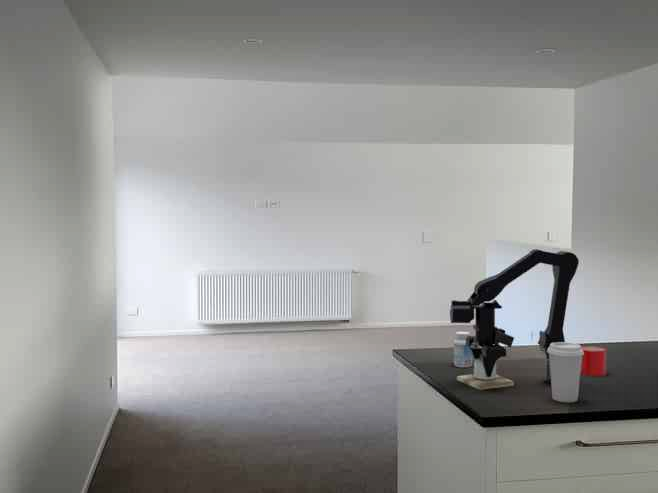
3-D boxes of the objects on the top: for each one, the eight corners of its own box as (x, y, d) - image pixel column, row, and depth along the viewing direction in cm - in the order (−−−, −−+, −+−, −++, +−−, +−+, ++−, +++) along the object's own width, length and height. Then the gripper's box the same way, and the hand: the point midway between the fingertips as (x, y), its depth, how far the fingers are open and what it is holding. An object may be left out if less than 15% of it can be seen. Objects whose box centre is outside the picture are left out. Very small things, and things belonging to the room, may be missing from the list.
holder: (513, 385, 193) (513, 374, 192) (479, 389, 188) (479, 378, 188) (489, 376, 204) (489, 365, 204) (457, 380, 199) (457, 369, 199)
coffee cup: (574, 393, 183) (575, 341, 182) (589, 403, 174) (590, 348, 173) (541, 394, 183) (541, 341, 182) (554, 404, 173) (554, 348, 173)
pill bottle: (471, 363, 220) (471, 331, 220) (473, 368, 214) (473, 334, 214) (453, 363, 221) (452, 330, 220) (454, 367, 215) (454, 334, 214)
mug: (571, 366, 215) (571, 343, 214) (609, 372, 207) (609, 348, 206) (562, 371, 209) (562, 347, 208) (600, 377, 201) (601, 352, 200)
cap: (490, 380, 192) (490, 363, 191) (471, 377, 195) (471, 361, 195) (498, 376, 196) (498, 359, 196) (480, 373, 200) (480, 357, 200)
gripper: (523, 327, 187) (523, 381, 188) (499, 317, 205) (499, 365, 206) (486, 328, 185) (486, 382, 186) (465, 318, 204) (465, 367, 205)
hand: (485, 374), depth 196 cm, fingers closed on cap, 6 cm apart
